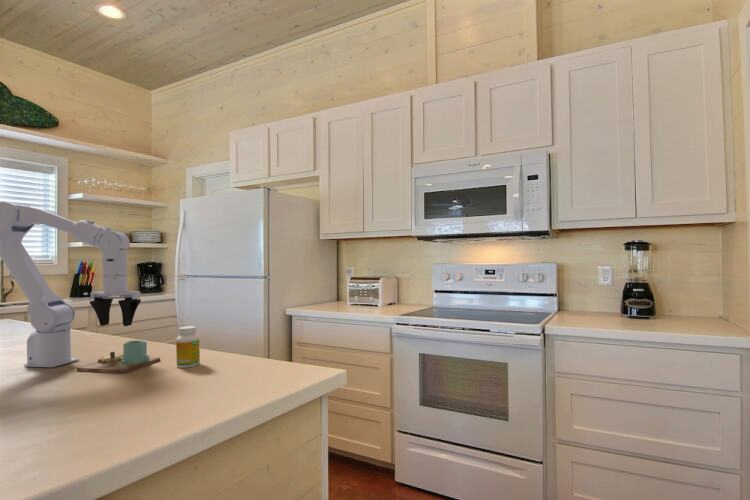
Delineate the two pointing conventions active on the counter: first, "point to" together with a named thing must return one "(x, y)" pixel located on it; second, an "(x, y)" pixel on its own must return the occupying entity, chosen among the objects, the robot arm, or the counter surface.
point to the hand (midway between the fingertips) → (116, 325)
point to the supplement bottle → (187, 347)
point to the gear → (135, 352)
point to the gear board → (114, 364)
